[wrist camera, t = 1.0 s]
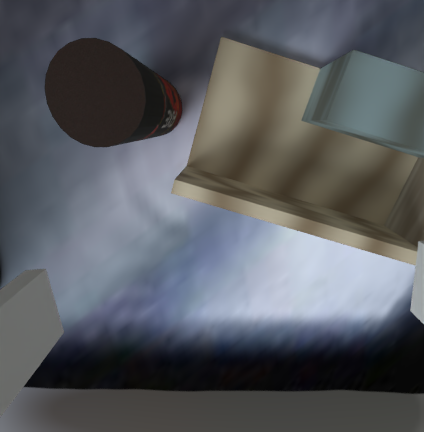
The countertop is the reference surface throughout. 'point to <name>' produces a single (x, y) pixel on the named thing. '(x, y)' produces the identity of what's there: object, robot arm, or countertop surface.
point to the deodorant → (108, 95)
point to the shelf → (314, 147)
